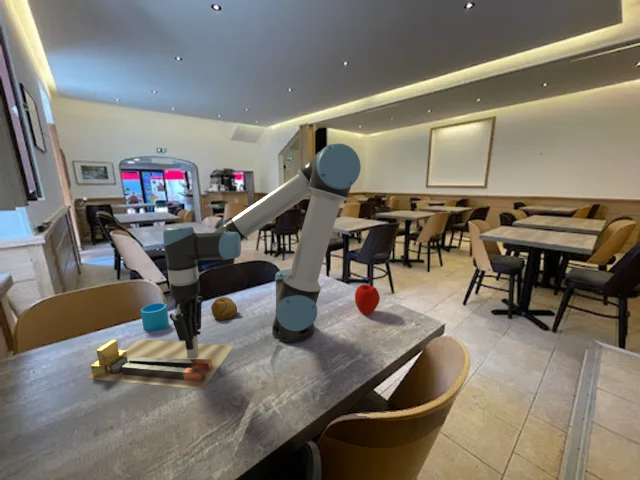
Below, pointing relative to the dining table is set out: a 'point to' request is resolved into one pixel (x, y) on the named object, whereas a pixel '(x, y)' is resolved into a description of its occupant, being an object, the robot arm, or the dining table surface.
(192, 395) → the dining table surface
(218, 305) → the bread roll
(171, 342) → the board
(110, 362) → the yellow stepped block
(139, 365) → the tong fixed
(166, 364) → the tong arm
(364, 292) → the apple
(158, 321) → the mug
